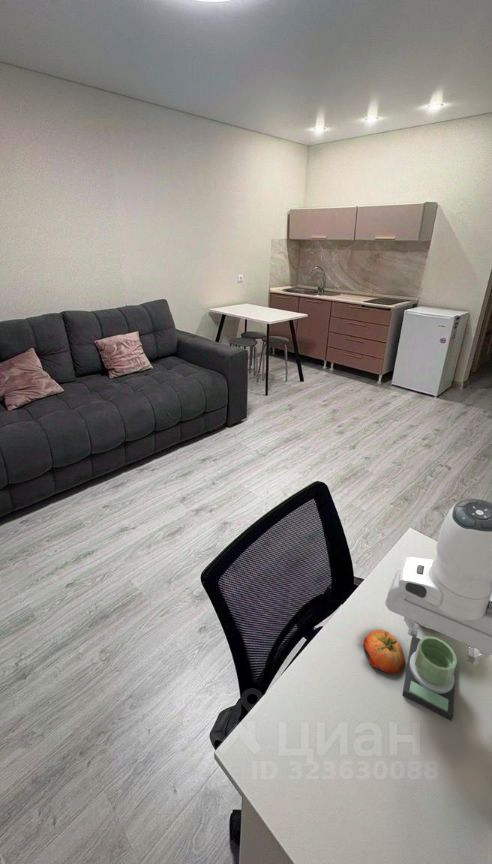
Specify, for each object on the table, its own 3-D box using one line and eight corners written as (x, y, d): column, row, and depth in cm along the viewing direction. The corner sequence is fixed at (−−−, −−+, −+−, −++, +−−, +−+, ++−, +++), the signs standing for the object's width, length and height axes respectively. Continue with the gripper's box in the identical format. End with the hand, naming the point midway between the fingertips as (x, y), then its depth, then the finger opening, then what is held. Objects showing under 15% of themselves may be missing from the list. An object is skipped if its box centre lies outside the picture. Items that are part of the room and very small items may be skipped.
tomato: (399, 686, 73) (380, 644, 75) (367, 684, 78) (349, 644, 79) (415, 660, 79) (397, 621, 80) (384, 659, 83) (367, 623, 85)
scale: (410, 644, 82) (413, 632, 81) (453, 664, 78) (457, 652, 77) (401, 699, 72) (404, 687, 71) (449, 725, 69) (454, 713, 68)
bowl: (426, 646, 78) (431, 630, 77) (458, 675, 73) (464, 659, 72) (406, 662, 75) (410, 646, 74) (438, 694, 70) (443, 677, 69)
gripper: (532, 603, 65) (509, 661, 70) (396, 552, 74) (385, 606, 80) (536, 635, 60) (511, 695, 65) (389, 576, 69) (378, 632, 75)
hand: (440, 646), depth 72 cm, fingers open, 8 cm apart
